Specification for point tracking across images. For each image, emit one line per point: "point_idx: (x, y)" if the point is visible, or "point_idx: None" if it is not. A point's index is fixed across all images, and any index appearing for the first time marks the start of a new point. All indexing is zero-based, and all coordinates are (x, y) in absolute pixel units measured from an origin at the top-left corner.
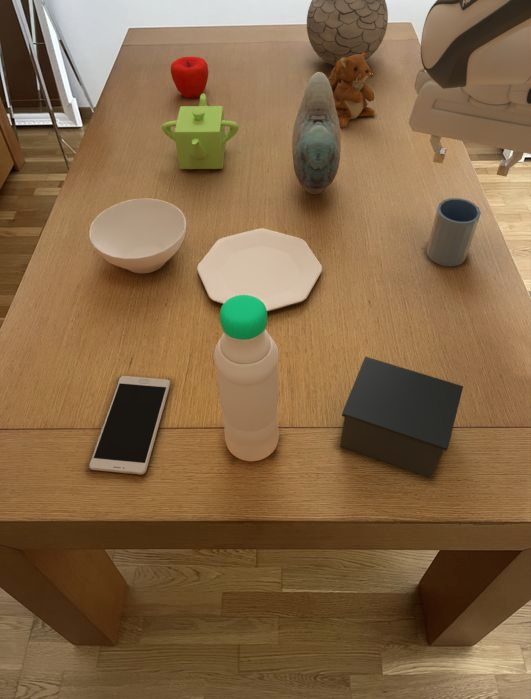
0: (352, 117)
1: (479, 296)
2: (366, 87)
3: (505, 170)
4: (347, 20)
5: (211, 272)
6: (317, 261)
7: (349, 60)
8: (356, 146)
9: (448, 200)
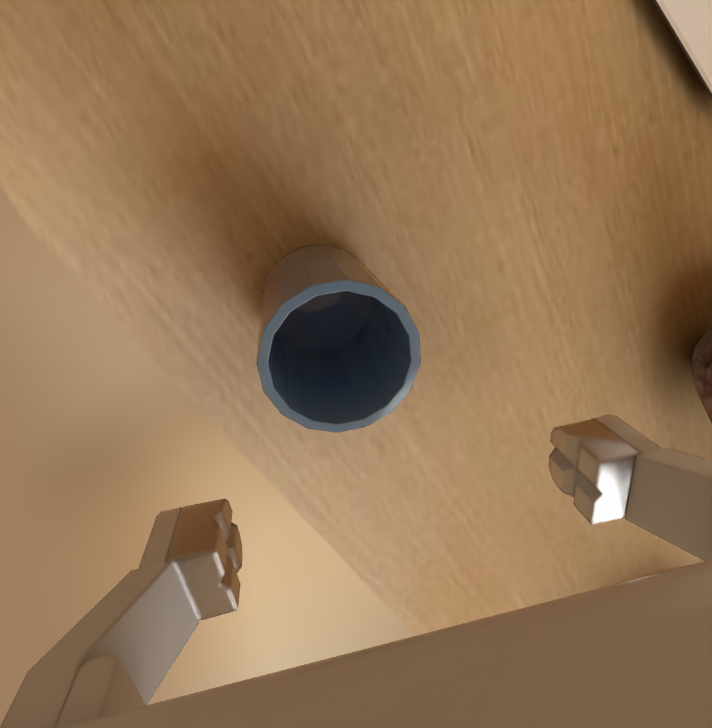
0: None
1: (151, 162)
2: None
3: (168, 538)
4: None
5: None
6: (672, 11)
7: None
8: (630, 541)
9: (395, 395)
